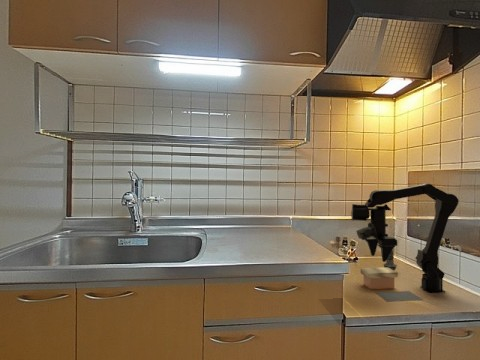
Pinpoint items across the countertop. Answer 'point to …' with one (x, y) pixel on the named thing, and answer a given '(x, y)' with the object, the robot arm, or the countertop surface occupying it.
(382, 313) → the countertop surface
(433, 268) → the robot arm
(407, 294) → the mat
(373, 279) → the open box
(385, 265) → the salt shaker
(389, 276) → the beige block on tray
